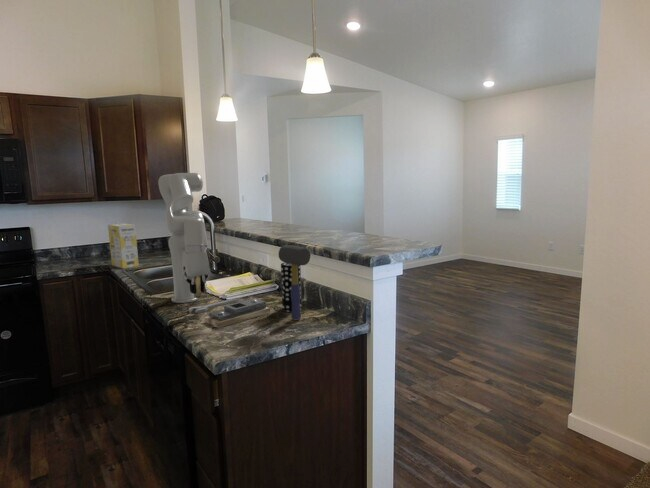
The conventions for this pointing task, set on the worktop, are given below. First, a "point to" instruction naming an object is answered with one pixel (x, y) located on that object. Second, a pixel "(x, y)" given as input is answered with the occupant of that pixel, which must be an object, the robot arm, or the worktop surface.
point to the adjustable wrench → (211, 305)
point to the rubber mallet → (295, 272)
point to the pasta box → (123, 245)
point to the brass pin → (198, 287)
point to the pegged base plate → (238, 309)
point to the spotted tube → (288, 286)
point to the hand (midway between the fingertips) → (197, 291)
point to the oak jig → (236, 318)
